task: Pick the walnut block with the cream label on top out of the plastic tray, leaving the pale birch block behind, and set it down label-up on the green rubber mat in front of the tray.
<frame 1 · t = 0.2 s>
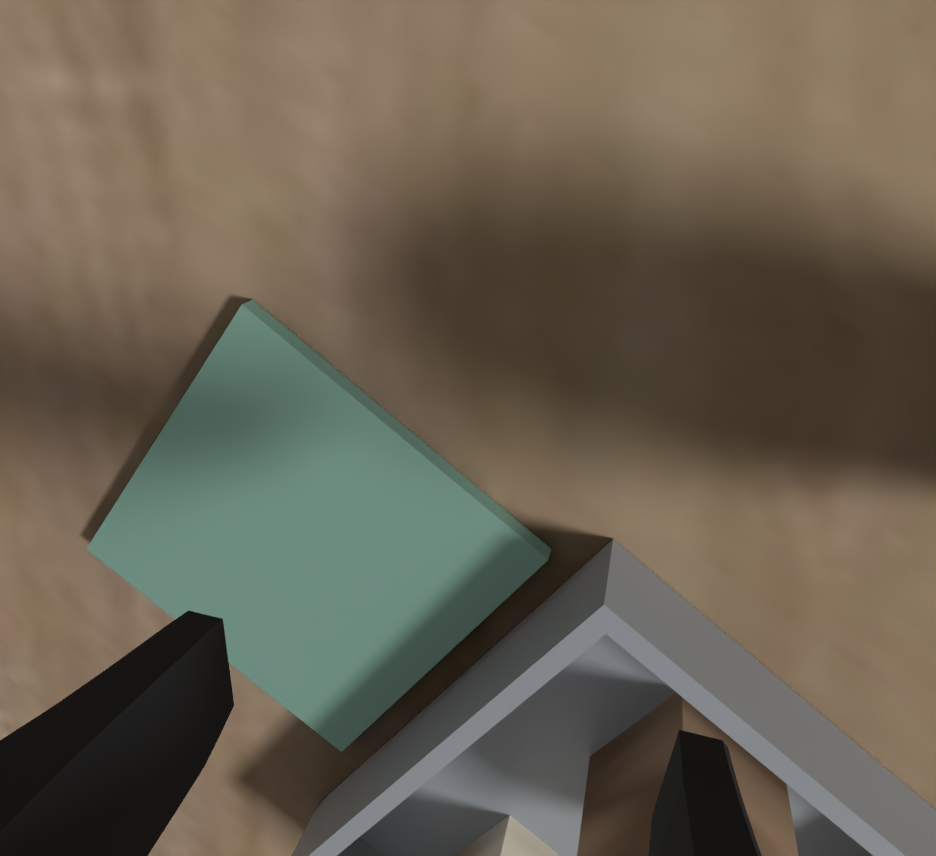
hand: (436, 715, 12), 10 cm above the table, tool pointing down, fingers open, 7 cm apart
mat: (305, 544, 24), on the table
tray: (596, 812, 26), on the table
walnut block: (684, 764, 23), resting on tray
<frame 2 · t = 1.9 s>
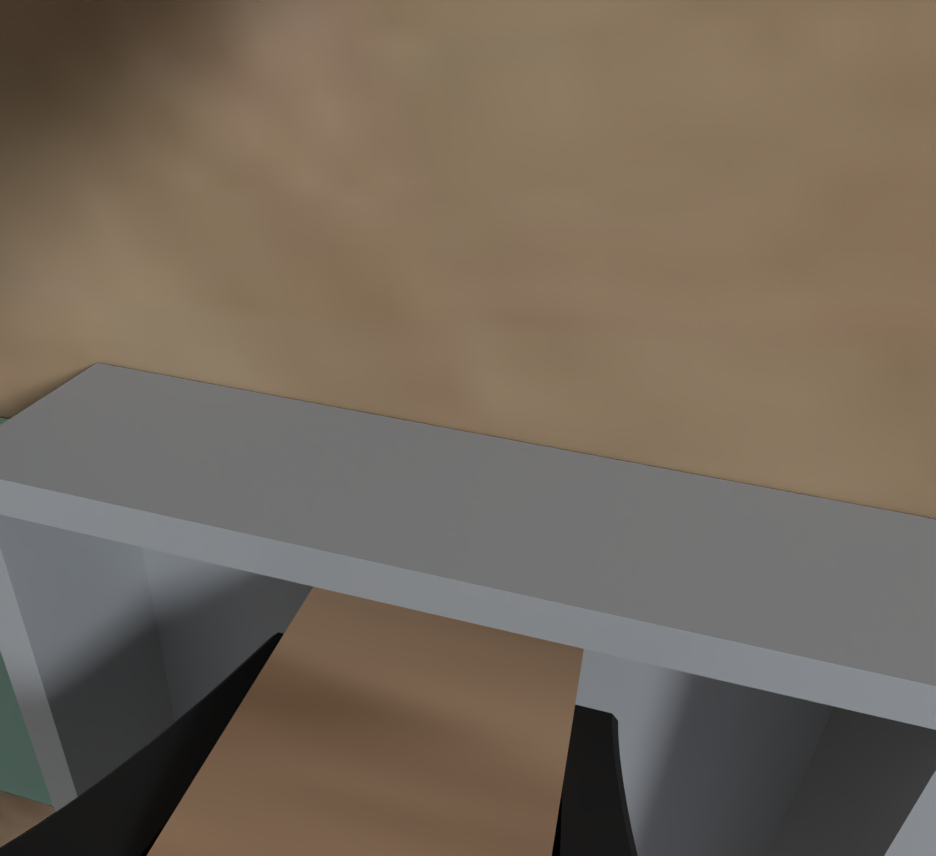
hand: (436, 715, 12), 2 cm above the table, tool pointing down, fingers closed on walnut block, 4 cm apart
tray: (452, 772, 16), on the table
walnut block: (458, 649, 13), resting on tray, touching gripper
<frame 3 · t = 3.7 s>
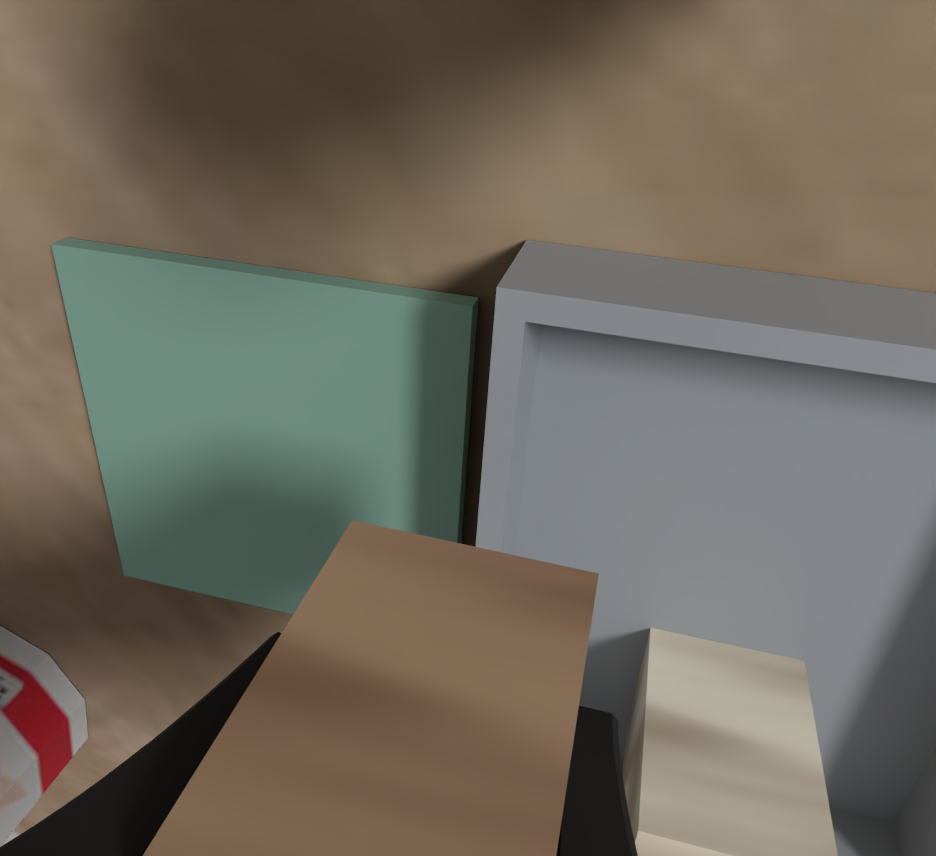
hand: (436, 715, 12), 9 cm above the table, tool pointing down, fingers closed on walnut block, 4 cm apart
mat: (277, 453, 22), on the table
tray: (742, 574, 20), on the table
spray bottle: (7, 684, 32), on the table
birch block: (709, 695, 22), resting on tray
walnut block: (463, 637, 13), point 7 cm above the table, touching gripper
when the fingers open (4 cm above the table, at t = 5.5 s): walnut block drops 1 cm, resting on mat.
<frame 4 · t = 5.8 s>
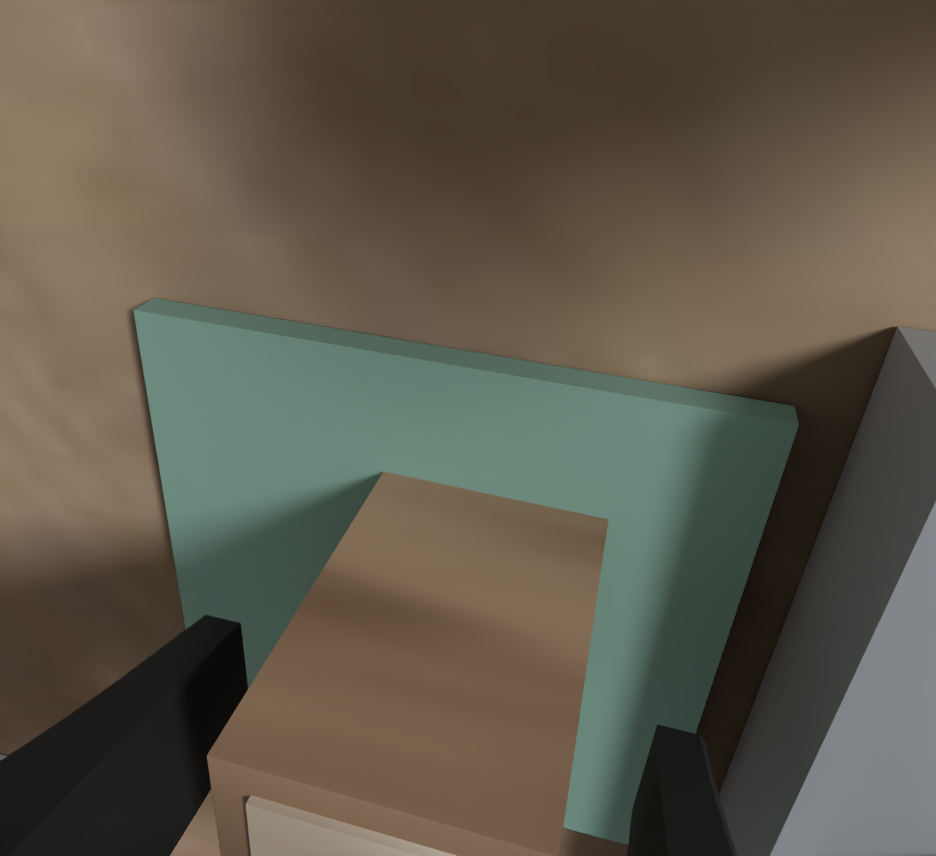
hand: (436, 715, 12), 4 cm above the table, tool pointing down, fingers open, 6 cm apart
mat: (435, 594, 16), on the table
walnut block: (482, 581, 14), point 1 cm above the table, touching mat
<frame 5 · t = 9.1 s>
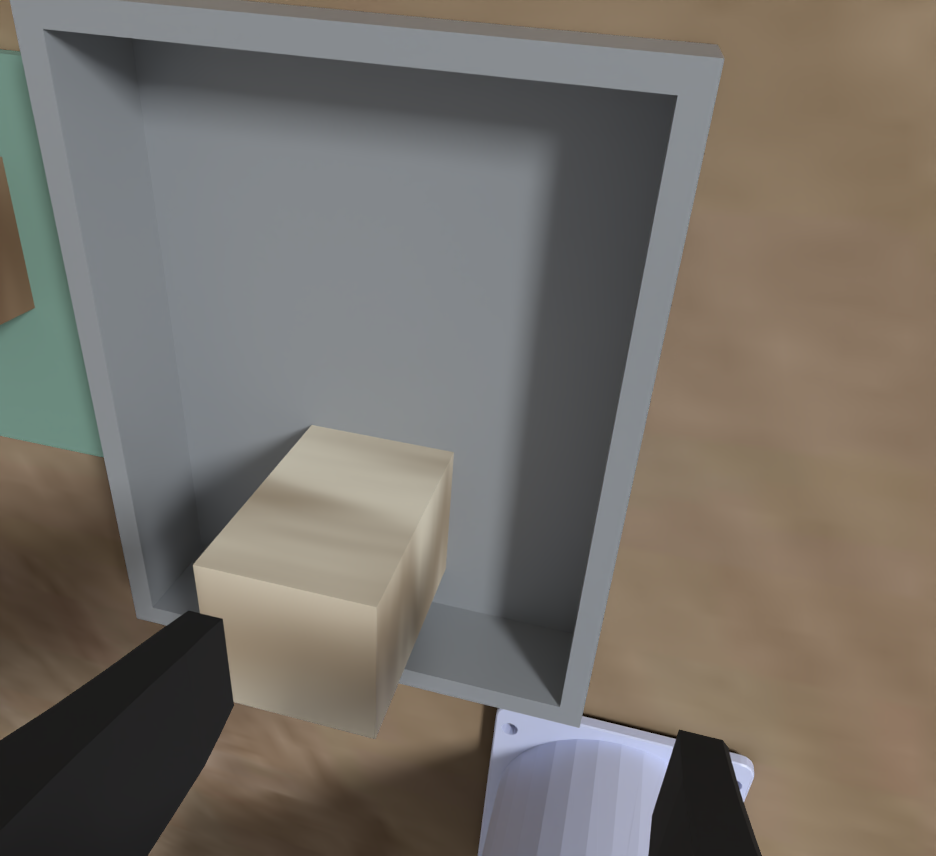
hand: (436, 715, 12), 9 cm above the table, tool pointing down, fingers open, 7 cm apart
tray: (388, 363, 20), on the table
birch block: (380, 498, 22), resting on tray
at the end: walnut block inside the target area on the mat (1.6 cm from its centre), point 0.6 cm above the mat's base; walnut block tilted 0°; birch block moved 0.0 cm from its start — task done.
